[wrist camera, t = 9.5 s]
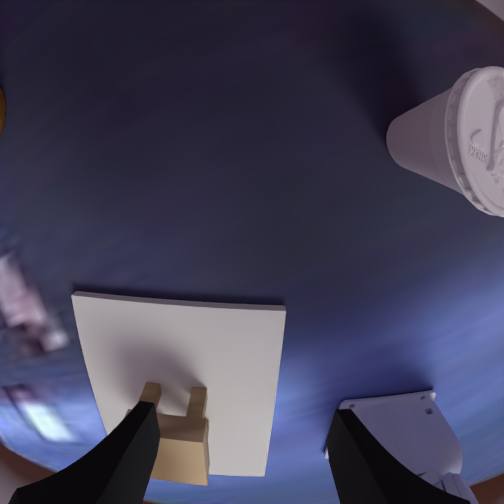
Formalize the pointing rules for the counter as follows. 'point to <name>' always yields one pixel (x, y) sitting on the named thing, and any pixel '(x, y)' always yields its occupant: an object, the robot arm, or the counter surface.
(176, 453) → the stool
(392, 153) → the smoothie
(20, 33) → the counter surface
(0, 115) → the disposable coffee cup
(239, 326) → the cutting board
